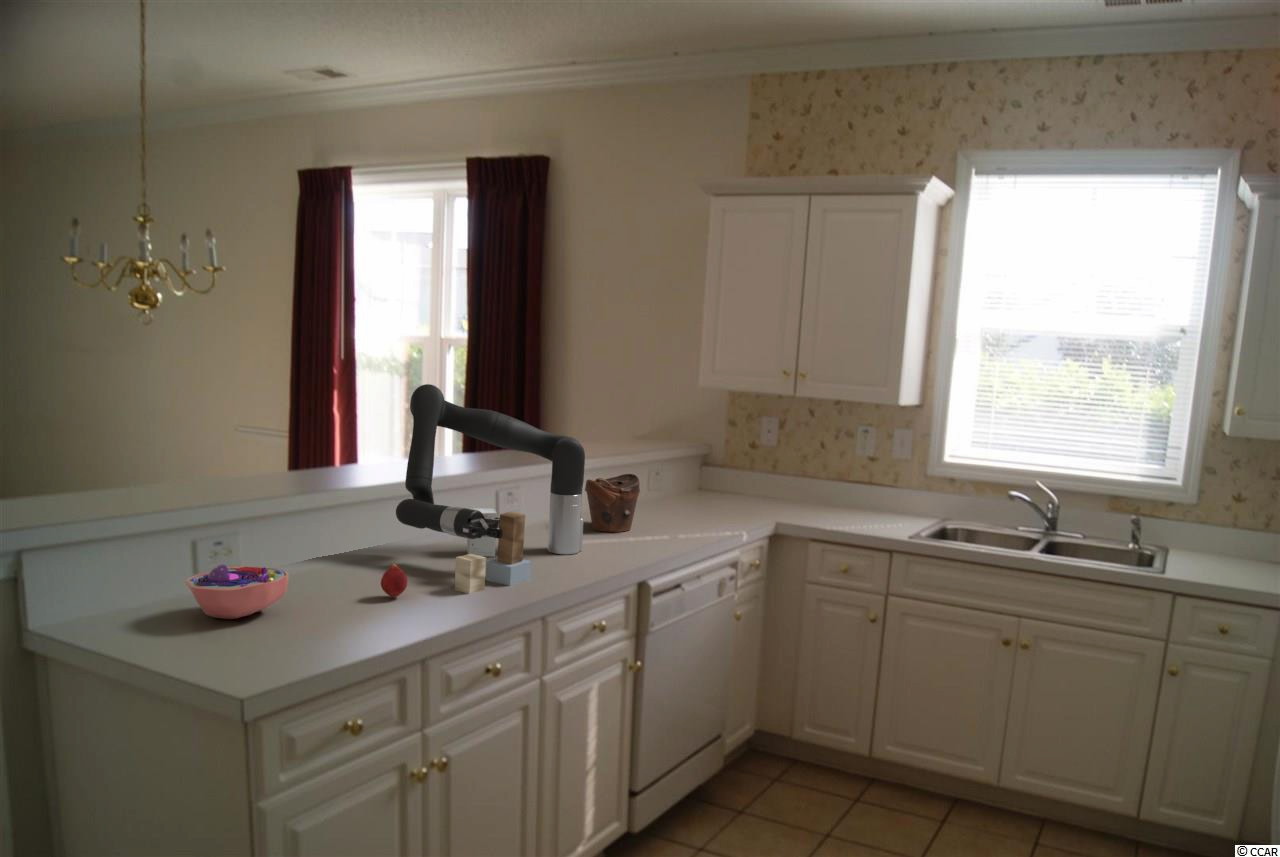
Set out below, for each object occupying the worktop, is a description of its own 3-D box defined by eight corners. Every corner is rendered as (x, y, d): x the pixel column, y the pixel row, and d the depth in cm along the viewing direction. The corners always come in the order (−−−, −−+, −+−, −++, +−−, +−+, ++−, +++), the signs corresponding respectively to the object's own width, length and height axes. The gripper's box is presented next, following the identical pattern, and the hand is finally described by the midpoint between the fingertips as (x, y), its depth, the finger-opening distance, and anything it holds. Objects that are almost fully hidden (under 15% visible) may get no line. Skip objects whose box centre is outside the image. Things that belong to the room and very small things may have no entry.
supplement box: (468, 557, 242) (470, 512, 241) (466, 551, 249) (468, 507, 248) (495, 557, 244) (497, 512, 243) (492, 550, 251) (494, 507, 250)
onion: (397, 593, 205) (398, 559, 204) (412, 598, 201) (413, 564, 201) (375, 597, 200) (376, 563, 200) (390, 603, 197) (391, 568, 196)
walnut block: (508, 557, 224) (511, 511, 223) (522, 560, 222) (525, 514, 220) (497, 560, 220) (499, 514, 219) (511, 564, 218) (514, 517, 217)
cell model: (302, 617, 184) (303, 564, 183) (200, 635, 170) (200, 578, 169) (271, 598, 196) (272, 548, 195) (174, 613, 182) (174, 559, 181)
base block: (505, 574, 227) (506, 556, 227) (530, 580, 223) (531, 561, 223) (485, 581, 220) (486, 561, 220) (510, 587, 216) (510, 567, 216)
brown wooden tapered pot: (574, 531, 284) (576, 476, 282) (595, 520, 303) (597, 469, 301) (626, 537, 279) (629, 481, 277) (644, 526, 298) (647, 474, 296)
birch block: (469, 585, 214) (470, 553, 214) (484, 589, 212) (485, 557, 211) (454, 589, 210) (455, 557, 210) (469, 594, 208) (470, 560, 207)
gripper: (444, 511, 222) (494, 521, 214) (480, 504, 234) (529, 513, 226) (443, 541, 222) (493, 551, 214) (479, 532, 235) (528, 541, 227)
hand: (512, 531), depth 220 cm, fingers open, 8 cm apart
